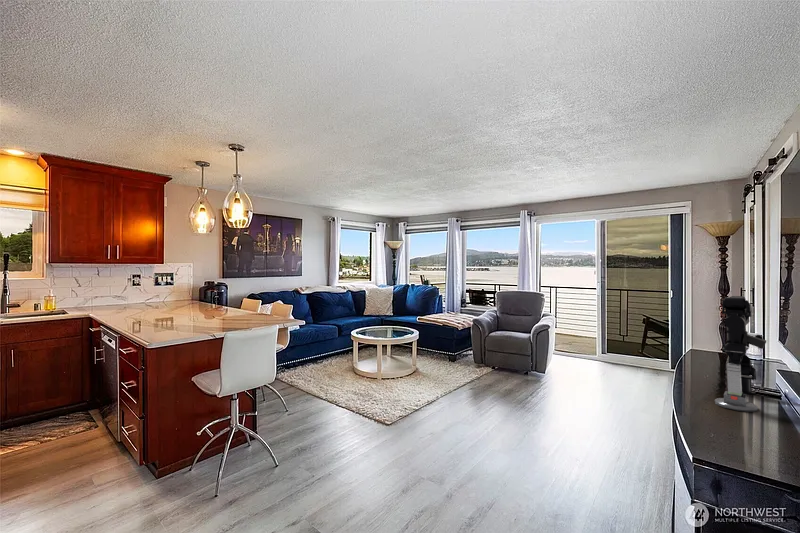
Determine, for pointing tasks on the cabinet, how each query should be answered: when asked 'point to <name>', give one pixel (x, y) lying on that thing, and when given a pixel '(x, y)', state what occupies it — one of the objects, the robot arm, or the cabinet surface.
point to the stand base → (736, 403)
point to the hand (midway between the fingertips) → (738, 366)
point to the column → (734, 379)
